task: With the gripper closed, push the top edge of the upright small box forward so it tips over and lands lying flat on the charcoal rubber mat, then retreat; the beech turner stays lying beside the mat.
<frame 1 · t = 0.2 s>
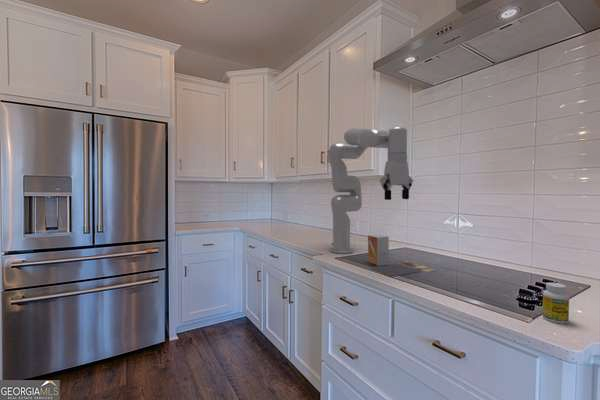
hand: (396, 199, 122), 31 cm above the counter, tool pointing down, fingers open, 9 cm apart
turner: (417, 267, 131), on the counter
supplement bottle: (555, 320, 79), on the counter
mat: (394, 269, 127), on the counter
small box: (378, 263, 137), on the counter, touching mat
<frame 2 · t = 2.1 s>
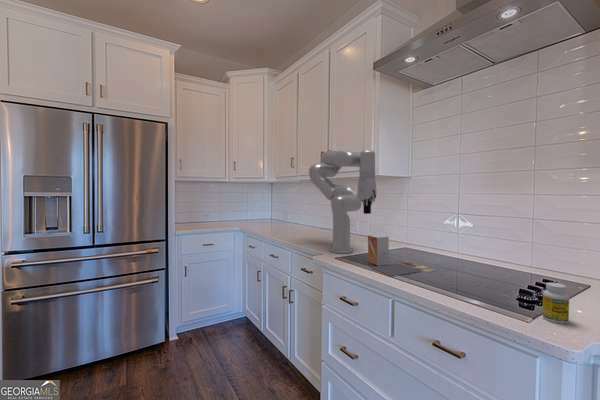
hand: (367, 213, 144), 23 cm above the counter, tool pointing down, fingers closed
nothing on the counter moved.
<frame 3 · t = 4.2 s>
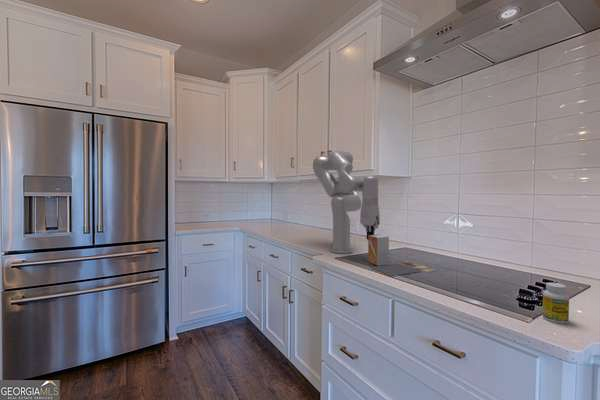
hand: (370, 239, 142), 10 cm above the counter, tool pointing down, fingers closed
small box: (378, 263, 137), on the counter, touching gripper, mat
everything else where it was.
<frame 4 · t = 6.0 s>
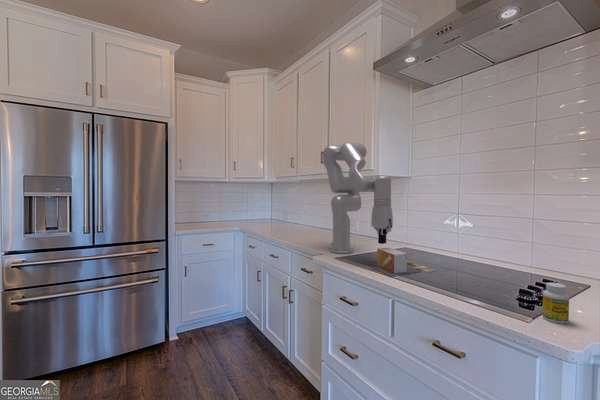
hand: (382, 243, 134), 10 cm above the counter, tool pointing down, fingers closed
small box: (382, 256, 134), point 4 cm above the counter, touching mat
everything else where it was.
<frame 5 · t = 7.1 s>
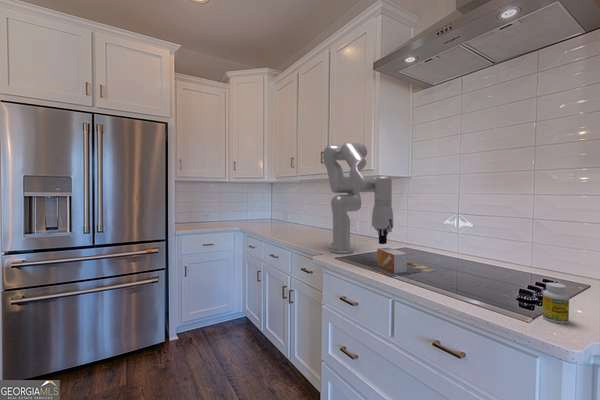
hand: (382, 243, 134), 10 cm above the counter, tool pointing down, fingers closed
nothing on the counter moved.
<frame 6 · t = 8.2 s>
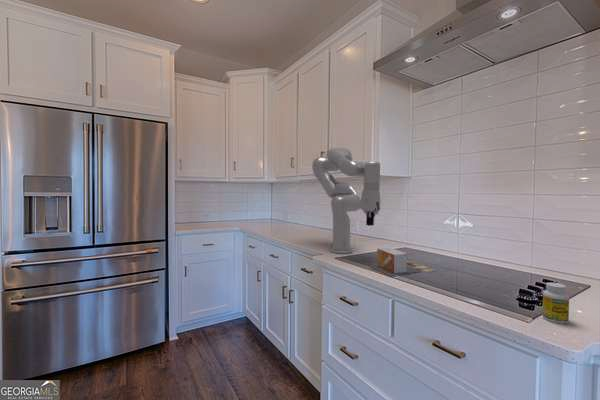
hand: (369, 225, 142), 17 cm above the counter, tool pointing down, fingers closed
nothing on the counter moved.
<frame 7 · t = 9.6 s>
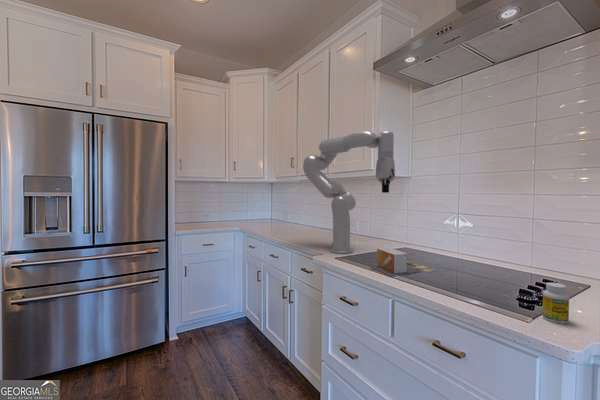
hand: (385, 192, 149), 33 cm above the counter, tool pointing down, fingers closed
nothing on the counter moved.
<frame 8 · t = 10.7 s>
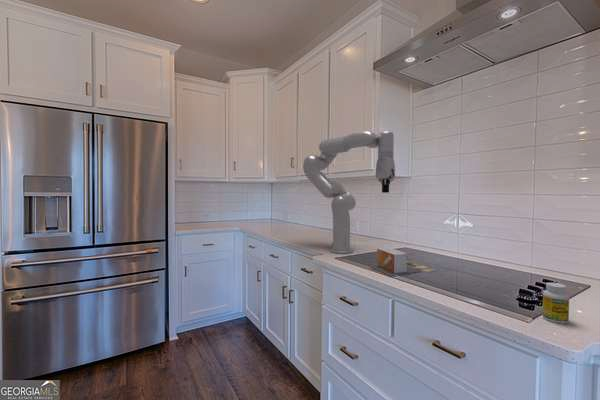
hand: (385, 192, 149), 33 cm above the counter, tool pointing down, fingers closed
nothing on the counter moved.
at the end: small box tilted 90°; small box 7.6 cm from the mat (horizontally); small box point 4.3 cm above the counter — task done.
